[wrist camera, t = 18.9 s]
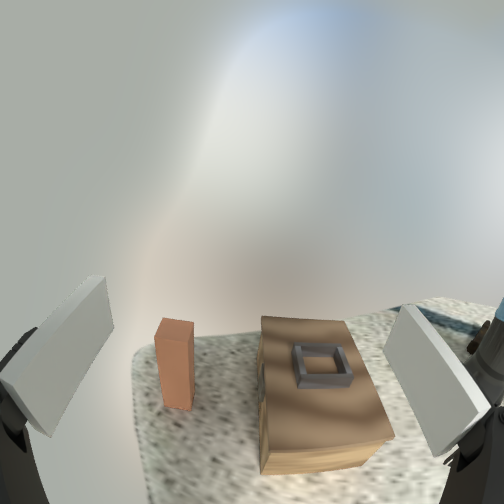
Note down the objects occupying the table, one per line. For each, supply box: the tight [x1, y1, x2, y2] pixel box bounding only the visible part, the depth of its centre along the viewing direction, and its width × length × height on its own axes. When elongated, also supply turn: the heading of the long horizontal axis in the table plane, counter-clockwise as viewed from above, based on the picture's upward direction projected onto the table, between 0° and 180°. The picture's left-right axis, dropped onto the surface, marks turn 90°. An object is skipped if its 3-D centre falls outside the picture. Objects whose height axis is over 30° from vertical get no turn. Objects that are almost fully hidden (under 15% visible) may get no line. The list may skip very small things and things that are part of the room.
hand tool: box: [467, 320, 490, 355], centre depth 51 cm, size 19×4×5 cm, turn 117°
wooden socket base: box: [257, 316, 395, 475], centre depth 35 cm, size 25×15×11 cm, turn 0°
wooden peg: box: [154, 318, 195, 411], centre depth 33 cm, size 4×4×14 cm
